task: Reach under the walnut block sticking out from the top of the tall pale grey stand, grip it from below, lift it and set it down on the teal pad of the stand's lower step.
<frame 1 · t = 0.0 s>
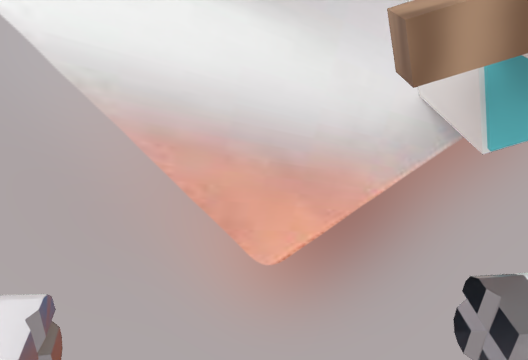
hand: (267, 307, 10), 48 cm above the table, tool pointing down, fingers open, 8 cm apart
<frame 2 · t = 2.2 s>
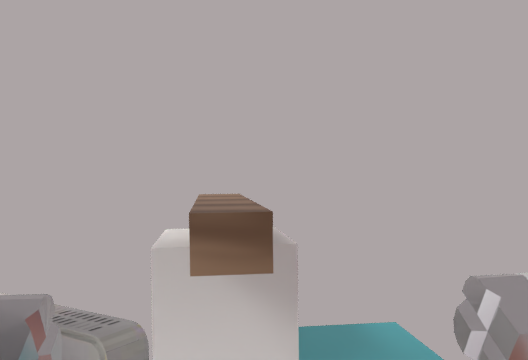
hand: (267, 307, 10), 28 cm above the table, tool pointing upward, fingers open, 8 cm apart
walnut block: (223, 240, 36), point 26 cm above the table, touching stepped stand
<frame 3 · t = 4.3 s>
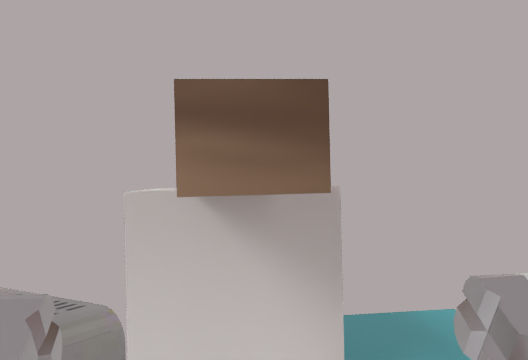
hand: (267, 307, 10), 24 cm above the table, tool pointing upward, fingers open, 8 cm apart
walnut block: (231, 188, 26), point 26 cm above the table, touching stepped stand
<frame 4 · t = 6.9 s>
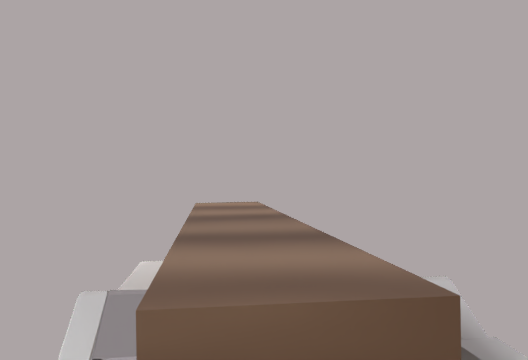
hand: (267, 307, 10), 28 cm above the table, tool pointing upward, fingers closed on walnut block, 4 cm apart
walnut block: (240, 295, 19), point 26 cm above the table, touching gripper, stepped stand
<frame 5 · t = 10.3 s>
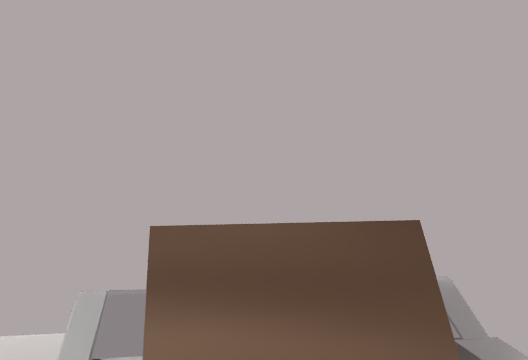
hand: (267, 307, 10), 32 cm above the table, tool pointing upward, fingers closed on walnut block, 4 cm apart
when the fingers open (19 cm above the table, at t = 13.8 s): walnut block stays where it is, resting on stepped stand.
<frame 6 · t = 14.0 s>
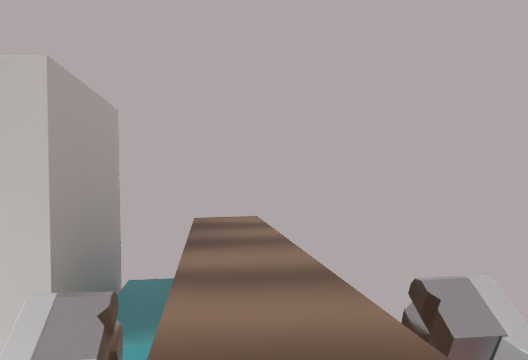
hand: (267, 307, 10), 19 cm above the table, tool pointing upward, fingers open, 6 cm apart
walnut block: (240, 323, 18), point 17 cm above the table, touching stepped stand
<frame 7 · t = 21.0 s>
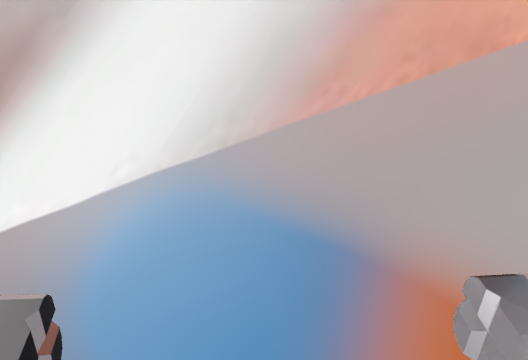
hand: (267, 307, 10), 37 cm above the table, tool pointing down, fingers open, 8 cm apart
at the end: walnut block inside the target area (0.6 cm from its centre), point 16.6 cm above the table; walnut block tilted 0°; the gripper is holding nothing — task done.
